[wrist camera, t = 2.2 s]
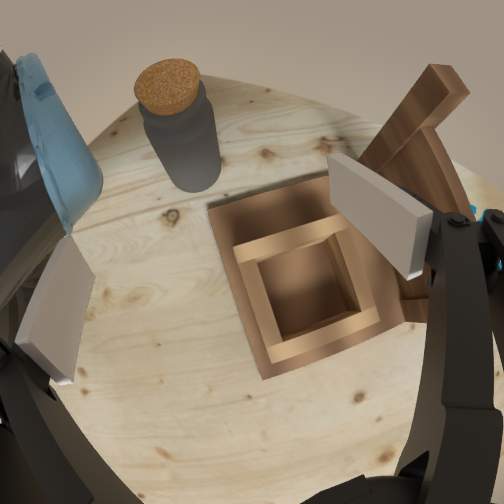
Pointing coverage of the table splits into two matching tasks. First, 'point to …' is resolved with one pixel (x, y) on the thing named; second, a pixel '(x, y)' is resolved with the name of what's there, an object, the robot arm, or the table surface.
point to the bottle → (180, 123)
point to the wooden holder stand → (337, 243)
